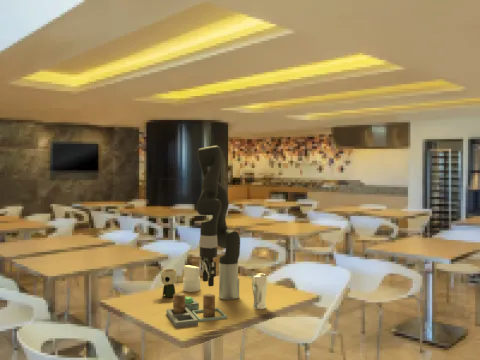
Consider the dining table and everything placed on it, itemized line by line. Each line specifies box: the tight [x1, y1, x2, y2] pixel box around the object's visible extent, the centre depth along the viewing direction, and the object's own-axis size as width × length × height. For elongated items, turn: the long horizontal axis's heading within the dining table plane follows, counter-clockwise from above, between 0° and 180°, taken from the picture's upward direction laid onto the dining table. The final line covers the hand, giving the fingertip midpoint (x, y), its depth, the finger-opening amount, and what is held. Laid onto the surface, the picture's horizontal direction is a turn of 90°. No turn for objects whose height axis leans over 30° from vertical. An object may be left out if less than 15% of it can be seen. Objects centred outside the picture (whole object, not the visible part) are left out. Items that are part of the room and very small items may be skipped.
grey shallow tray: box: [165, 307, 199, 329], centre depth 189 cm, size 18×9×3 cm, turn 21°
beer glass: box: [251, 272, 268, 310], centre depth 209 cm, size 7×7×15 cm
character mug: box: [160, 268, 178, 298], centre depth 226 cm, size 11×7×13 cm, turn 54°
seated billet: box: [172, 292, 186, 314], centre depth 194 cm, size 5×5×9 cm
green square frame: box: [191, 307, 228, 323], centre depth 194 cm, size 12×12×2 cm
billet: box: [202, 293, 216, 318], centre depth 194 cm, size 5×5×9 cm
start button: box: [185, 296, 193, 304], centre depth 204 cm, size 4×4×5 cm
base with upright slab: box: [182, 264, 201, 293], centre depth 240 cm, size 9×9×12 cm
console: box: [185, 297, 200, 312], centre depth 204 cm, size 8×8×4 cm
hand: (208, 283), depth 194 cm, fingers open, 8 cm apart
